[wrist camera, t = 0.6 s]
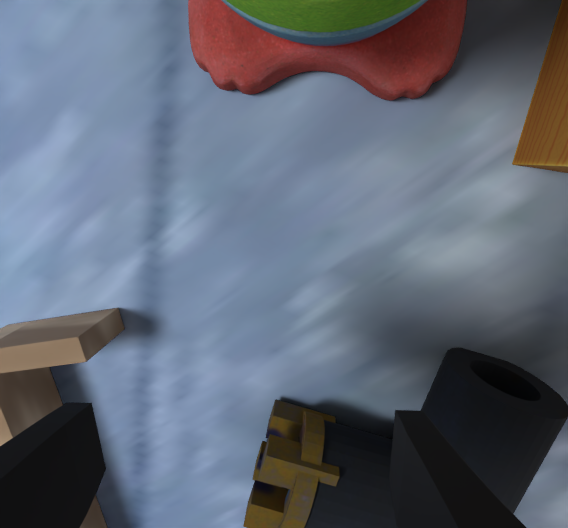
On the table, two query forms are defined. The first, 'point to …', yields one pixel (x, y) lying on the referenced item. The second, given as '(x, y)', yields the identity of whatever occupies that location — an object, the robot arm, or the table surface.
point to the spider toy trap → (549, 107)
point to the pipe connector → (377, 450)
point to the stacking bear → (327, 41)
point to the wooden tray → (48, 370)
